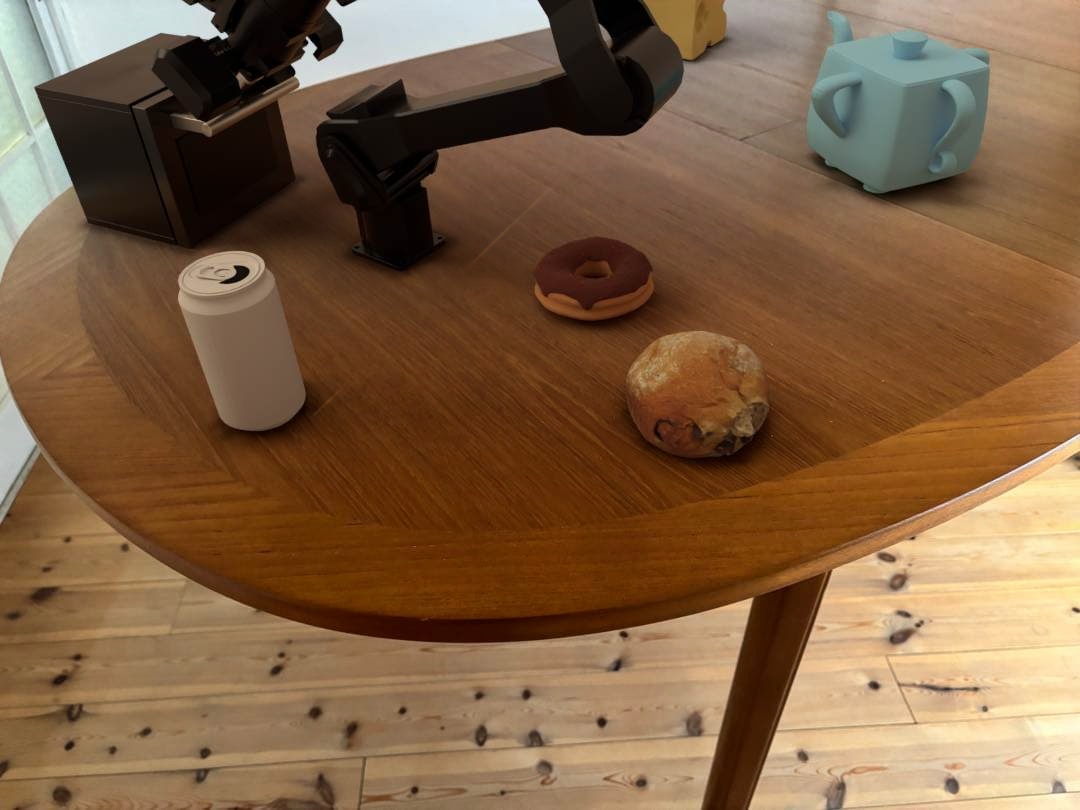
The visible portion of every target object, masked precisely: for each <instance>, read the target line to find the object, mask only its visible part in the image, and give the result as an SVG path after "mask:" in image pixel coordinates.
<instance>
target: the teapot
mask: <svg viewBox="0 0 1080 810" xmlns="http://www.w3.org/2000/svg"><path fill="white" fill-rule="evenodd" d="M826 16H827V18H828V20H829V22H830V25H831V29H832V33H833V44H830V45H829V46H828V47H827V48H826V52H825V54H824V56H823V59H822V60H823V61H822V63H821V65H820V69H819V72H818V75H817V77H816V80H815V84H814V86H813V88H812V89H811V93H810V103H809V108H808V113H807V119H806V140H807V144H808V146H809V147H810V148H811V149H812V150H813V151H814V152H815V153H817V154H818V155H819V156H820V157H822V158H823V159H824V163H825V164H826V165H827V166H829V167H833V168H836V169H838V170H840V171H842V173H845V174H846V175H848V176H850V177H852V178H854V179H855V180H857V181H858V182H861V183H863V185H862V187H863V189H864V190H865V191H867V192H869V193H873V194H885V193H888V192H891V191H897V190H901V189H906V188H910V187H914V186H918V185H922V184H927V183H931V182H934V181H938V180H942V179H946V178H950V177H953V176H957V175H959V174H963V173H964V174H965V173H966V172H968V171H969V170H970V168H971V166H972V164H973V163H974V161H975V159H976V157H977V155H978V153H979V150H980V148H981V143H982V139H983V134H984V129H985V125H986V124H985V123H986V119H987V110H988V102H989V91H990V77H991V76H990V75H991V67H990V66H989V64H990V60H991V56H990V53H989V52H988V51H987V50H985V49H984V48H983V49H982V48H980V47H966V48H960V49H959V48H956V47H954V46H951V45H949V44H946V43H944V42H941V41H939V40H936V39H934V38H931V37H929V35H928V34H926V33H924V32H922V31H918V30H912V29H906V30H898V31H896V32H891V33H885V34H879V35H875V36H870V37H863V38H859V39H854V34H853V30H852V27H851V25H850V22H849V20H848V19H847V18H846V17H845V16H844V15H843V14H841V13H839V12H837V11H832V10H829V11H827V12H826Z"/></svg>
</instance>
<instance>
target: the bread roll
mask: <svg viewBox="0 0 1080 810" xmlns="http://www.w3.org/2000/svg"><path fill="white" fill-rule="evenodd" d="M768 381H769V379H768V375H767V372H766V369H765V367H764V365H763V362H761V360H760V358H759V357H758V355H757V354H756V352H755V351H754V350H753V349H751V347H749V346H748V345H746V344H744V343H743V342H741V341H739V340H738V339H735V338H733V337H730V336H726V335H724V334H719V333H715V332H709V331H705V330H690V331H680V332H676V333H670V334H667V335H664V336H661V337H659V338H657V339H656V340H654V341H653V342H651V344H649V345H648V346H647V347H646V348H645V349H644V350H643V351H642V352H641V353H640V354H639V356H638V357H637V359H635V360H634V362H633V363H632V364H631V366H630V368H629V370H628V373H627V376H626V382H625V386H626V395H625V396H626V398H625V399H626V405H627V407H628V411H629V414H630V417H631V419H632V421H633V423H634V424H635V425H636V428H637V429H638V431H639V432H640V434H641V435H642V436H643V438H644V439H645V440H646V441H647V442H648V443H650V444H651V445H653V446H655V447H656V448H658V449H660V450H661V451H664V452H666V453H667V454H669V455H672V456H676V457H680V458H687V459H688V458H689V459H698V458H699V459H701V458H710V457H711V458H720V457H721V456H723V455H726V456H730V455H733V454H735V453H736V452H738V451H739V450H740V449H741V448H742V447H743V446H745V445H747V444H749V443H751V442H752V440H753V438H754V435H755V434H756V433H757V432H758V431H759V430H760V429H761V427H762V425H763V423H764V422H765V420H766V418H767V415H768V413H769V412H770V402H769V400H770V399H769V398H770V387H769V382H768Z"/></svg>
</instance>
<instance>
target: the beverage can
mask: <svg viewBox="0 0 1080 810" xmlns="http://www.w3.org/2000/svg"><path fill="white" fill-rule="evenodd" d="M177 284H178V286H179V292H178V294H177V301H178V304H179V308H180V310H181V313H182V315H183V318H184V321H185V324H186V327H187V329H188V333H189V335H190V338H191V340H192V343H193V346H194V349H195V352H196V354H197V357H198V360H199V363H200V366H201V368H202V371H203V374H204V377H205V379H206V380H205V381H206V383H207V386H208V388H209V391H210V393H211V396H212V399H213V403H214V405H215V407H216V410H217V413H218V416H219V418H220V419H221V421H222V422H223V423H224V424H226V425H227V426H229V427H231V428H234V429H236V430H241V431H248V432H249V431H250V432H262V431H267V430H268V431H269V430H273V429H276V428H278V427H281V426H282V425H284V424H286V423H287V422H289V421H291V420H292V419H293V418H294V417H295V415H297V413H299V411H300V410H301V409H302V407H303V406H304V403H305V402H306V398H307V397H306V396H307V393H306V392H307V391H306V388H305V385H304V381H303V377H302V374H301V369H300V366H299V363H298V359H297V355H296V352H295V351H296V350H295V348H294V343H293V340H292V337H291V333H290V329H289V326H288V322H287V319H286V315H285V311H284V307H283V304H282V300H281V296H280V293H279V290H278V286H277V282H276V279H275V276H274V274H273V272H272V271H271V270H269V269H268V268H267V267H266V263H265V261H264V259H263V258H262V257H260V256H259V254H258V255H257V254H256V253H253V252H249V251H244V250H228V251H222V252H216V253H212V254H208V255H207V256H203V257H201V258H198V259H197V260H195V261H192V262H191V263H190V264H188V265H187V266H185V268H183V270H182V271H181V272H180V274H179V275H178V278H177Z"/></svg>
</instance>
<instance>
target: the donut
mask: <svg viewBox="0 0 1080 810" xmlns="http://www.w3.org/2000/svg"><path fill="white" fill-rule="evenodd" d="M535 266H536V267H535V268H534V270H533V274H532V275H533V278H534V281H535V286H534V294H535V296H536V298H537V300H538V301H539V302H540V303H541V305H542V306H543V308H545V309H546V310H548V311H550V312H551V313H554V314H557V315H558V316H563V317H566V318H570V319H573V320H579V321H590V322H591V321H602V320H603V321H604V320H609V319H613V318H617V317H620V316H623V315H626V314H628V313H631V312H633V311H635V310H637V309H639V308H641V307H642V306H643V305H644V304H645V303H646V302H647V301H649V299H650V297H651V295H652V294H653V293H654V290H655V289H654V287H655V283H654V280H653V278H652V277H653V276H652V272H653V271H654V269H653V268H654V267H653V265H652V263H651V262H650V260H649V259H648V257H647V255H646V254H645V253H643V251H640V250H638V249H637V248H636V247H635V246H632V245H631V244H629V243H626V242H624V241H620V240H619V239H613V238H610V237H603V236H596V235H595V236H590V237H586V238H581V239H577V240H573V241H569V242H566V243H564V244H561V245H559V246H556V247H554V248H553V249H551V250H549V251H548V252H546V253H545V254H544V256H542V258H541V259H540V260H539V261H538V263H537V265H535Z"/></svg>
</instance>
